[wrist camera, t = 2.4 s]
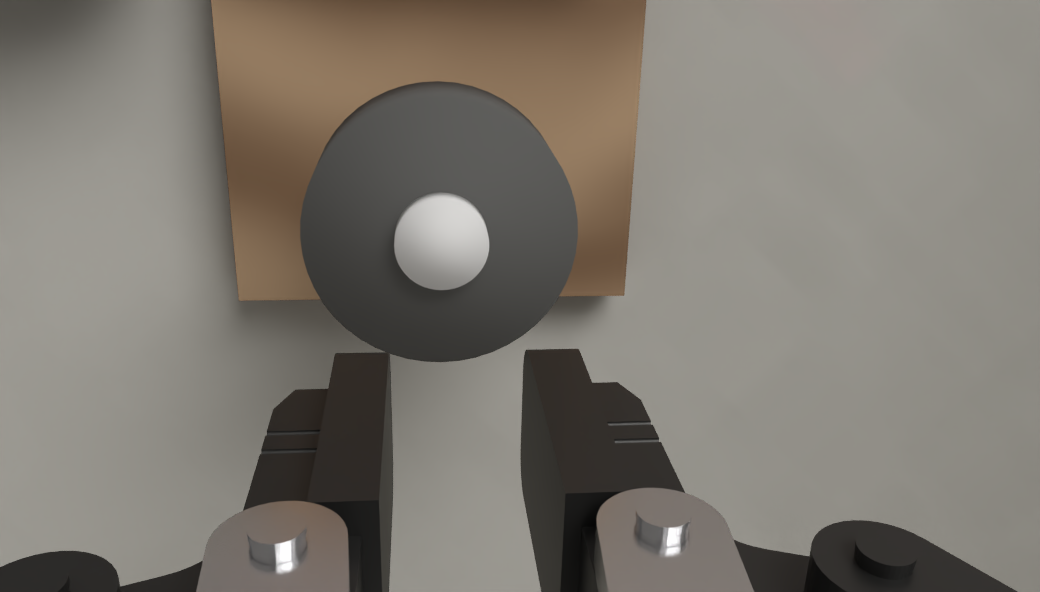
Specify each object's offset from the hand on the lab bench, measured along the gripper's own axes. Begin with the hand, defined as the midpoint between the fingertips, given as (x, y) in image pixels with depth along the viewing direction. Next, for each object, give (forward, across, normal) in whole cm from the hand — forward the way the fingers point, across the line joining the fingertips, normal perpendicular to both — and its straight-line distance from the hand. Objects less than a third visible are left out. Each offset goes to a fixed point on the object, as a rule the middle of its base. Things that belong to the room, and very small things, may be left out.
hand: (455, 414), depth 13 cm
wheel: (+10, 0, 0) cm, 10 cm away
